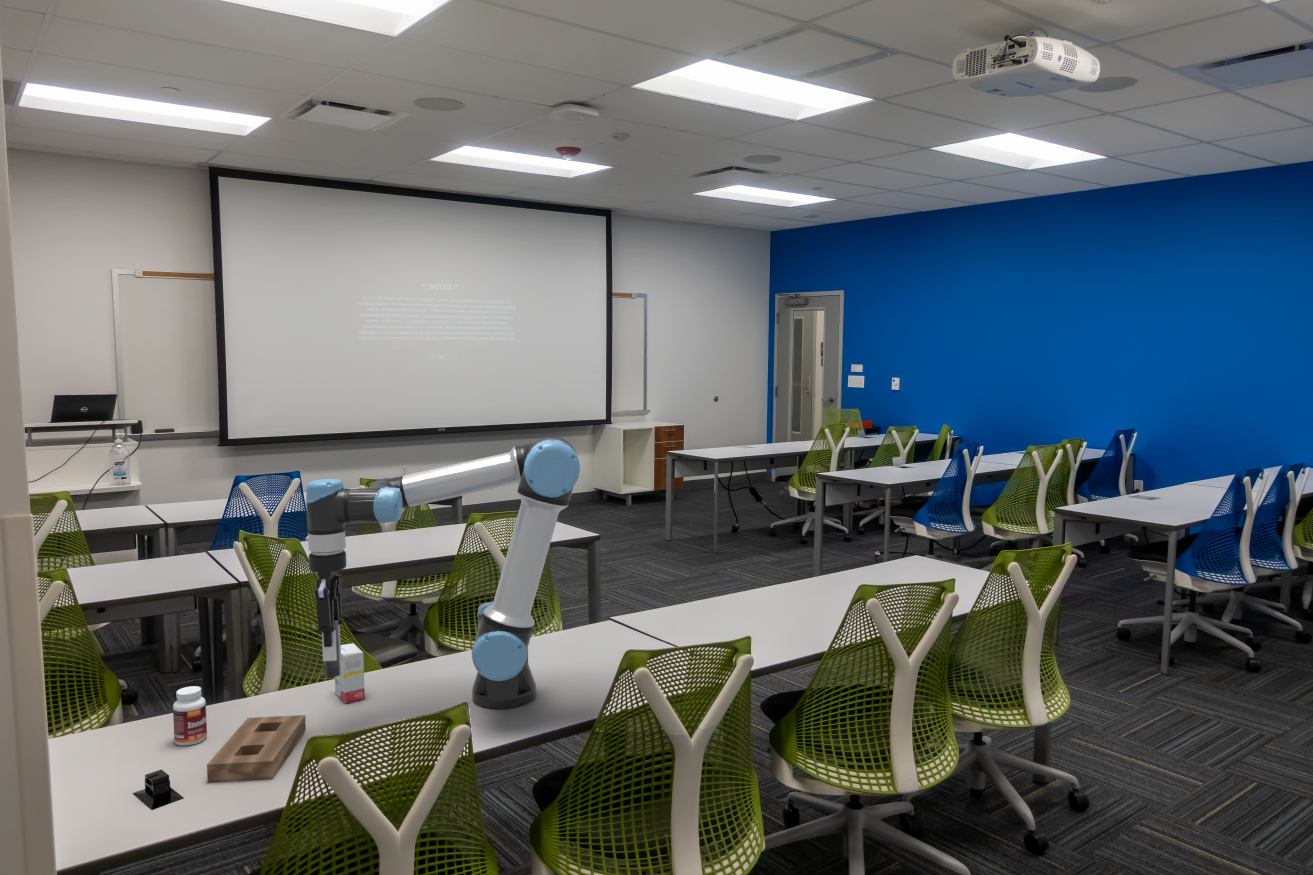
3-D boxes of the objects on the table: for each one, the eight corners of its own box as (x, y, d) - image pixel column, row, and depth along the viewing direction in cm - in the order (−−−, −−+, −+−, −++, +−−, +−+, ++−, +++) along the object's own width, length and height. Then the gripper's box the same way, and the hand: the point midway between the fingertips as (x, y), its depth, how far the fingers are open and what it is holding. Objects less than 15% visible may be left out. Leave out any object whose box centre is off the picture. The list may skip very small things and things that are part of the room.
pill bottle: (190, 748, 180) (188, 697, 179) (167, 744, 182) (164, 693, 181) (214, 735, 186) (211, 686, 185) (191, 732, 188) (188, 683, 187)
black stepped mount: (125, 794, 162) (123, 771, 162) (166, 780, 168) (165, 757, 167) (150, 817, 154) (149, 792, 154) (193, 801, 160) (192, 777, 159)
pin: (341, 672, 190) (339, 618, 189) (338, 676, 187) (335, 622, 186) (327, 672, 190) (325, 619, 189) (323, 677, 187) (321, 623, 186)
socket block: (305, 730, 189) (305, 714, 188) (272, 778, 167) (272, 760, 167) (248, 733, 187) (247, 717, 187) (207, 781, 166) (206, 764, 165)
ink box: (365, 699, 206) (364, 651, 205) (344, 704, 203) (343, 655, 202) (355, 688, 213) (353, 641, 212) (334, 693, 210) (332, 645, 209)
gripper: (319, 544, 193) (323, 646, 195) (298, 560, 178) (303, 671, 180) (353, 543, 194) (358, 644, 196) (335, 558, 179) (340, 669, 181)
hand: (332, 657), depth 188 cm, fingers closed on pin, 3 cm apart
